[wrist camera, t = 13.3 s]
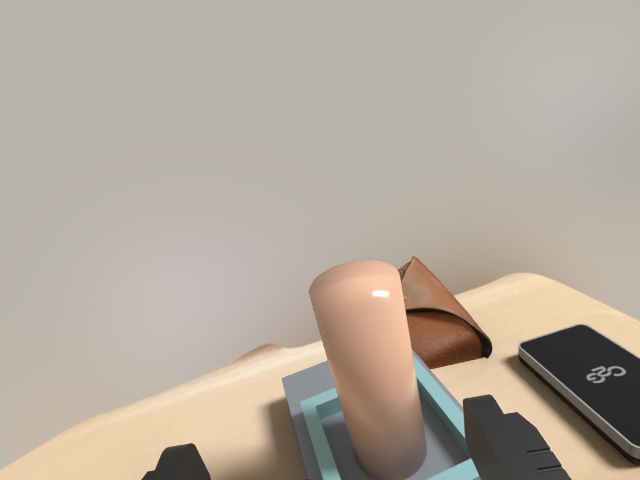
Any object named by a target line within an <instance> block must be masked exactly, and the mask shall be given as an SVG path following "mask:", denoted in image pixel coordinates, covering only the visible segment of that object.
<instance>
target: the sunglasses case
mask: <svg viewBox="0 0 640 480" xmlns="http://www.w3.org/2000/svg"><path fill="white" fill-rule="evenodd" d="M397 271H398V272H399V275H400V280H401V286H402V292H403V299H404V305H405V311H406V317H407V323H408V330H409V336H410V342H411V348H412V350H413V351H414V352H415V353H416V354H417V355H418V356H419V358H420V359H421V360H422V361H423V362H424V363H425V364H426V366H427V367H428V368H429V369H434V368H439V367H444V366H448V365H453V364H457V363H461V362H466V361H470V360H475V359H479V358H482V357H486V358H489V356H490V355H491V353H492V343H491V341H490V339H489V338H488V336H487V335H486V334H485V333H484V332H483V331H482V330H481V328H480V327H479V326H478V325H477V323H476V322H475V321H474V320H473V318H472V317H471V316H470V315H469V313H468V312H467V311H466V310H465V309H464V308H463V306H462V305H461V304H460V303H459V302H458V301H457V300H456V298H455V297H454V296H453V295H452V294H451V293H450V292H449V291H448V290H447V288H446V287H445V286H444V285H443V284H442V283H441V282H440V281H439V280H438V278H437V277H436V276H435V275H434V274H433V273H432V272H431V271H430V270H429V269H428V268H427V267H425V265H423V264H422V263H421V262H420V260H419V259H418V258H416V257H414V256H413V257H412V260H411V261H410V262H409V263H407V264H406V265H404V266H403V267H402V268H400V269H399V270H397Z"/></svg>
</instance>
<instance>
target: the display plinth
mask: <svg viewBox="0 0 640 480" xmlns="http://www.w3.org/2000/svg"><path fill="white" fill-rule="evenodd" d="M412 355H413V361H414V367H415V373H416V379H417V386H418V392H419V398H420V404H421V411H422V417H423V423H424V429H425V436H426V442H427V454H426V458H425V461H424V463H423V465H422V466H421V468H420V469H419V470H418V471H417V472H416V473H415V474H414V475H412V476H411V477H409V478H407V479H405V480H481V479H480V477H479V474H478V472H477V470H476V468H475V465H474V463H473V461H472V458H471V456H470V453H469V450H468V447H467V443H466V439H465V431H464V413H463V407H462V406H461V405H460V404H459V402H458V401H457V400H456V399H455V398H454V397H453V395H452V394H451V393H450V392H449V391H448V390H447V389H446V387H445V386H444V385H443V384H442V383H441V382H440V381H439V379H438V378H437V377H436V376H435V375H434V374H433V373H432V371H431V370H430V369H429V368H428V367H427V366H426V364H425V363H424V362H423V361H422V360H421V359H420V358H419V356H418V355H417V354H416V353H415V352H414V351H413V350H412ZM282 382H283V386H284V390H285V394H286V398H287V401H288V405H289V409H290V413H291V417H292V421H293V425H294V429H295V433H296V437H297V441H298V445H299V449H300V452H301V456H302V460H303V464H304V468H305V472H306V476H307V480H377V479H375V478H373V477H371V476H369V475H368V474H366V473H365V472H364V471H363V470H362V469H361V468H360V466H359V465H358V463H357V461H356V459H355V456H354V452H353V449H352V445H351V442H350V438H349V434H348V431H347V427H346V424H345V420H344V417H343V413H342V409H341V406H340V402H339V399H338V395H337V392H336V388H335V384H334V381H333V377H332V374H331V370H330V367H329V363H328V361H326V362H323V363H320V364H318V365H315V366H313V367H310V368H307V369H305V370H302V371H299V372H297V373H294V374H292V375H289V376H286V377H284V378H282Z"/></svg>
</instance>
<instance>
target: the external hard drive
mask: <svg viewBox="0 0 640 480" xmlns="http://www.w3.org/2000/svg"><path fill="white" fill-rule="evenodd" d="M518 347H519V359H520V361H521V362H522V363H523V364H524V365H525V366H527V367H528V368H529V369H530V370H531V371H532V372H533V373H534V374H535V375H536V376H537V377H539V378H540V379H541V380H542V381H543V382H544V383H545V384H546V385H547V386H548V387H549V388H551V389H552V390H553V391H554V392H555V393H556V394H557V395H558V396H559V397H560V398H561V399H563V400H564V401H565V402H566V403H567V404H568V405H569V406H570V407H571V408H572V409H573V410H575V411H576V412H577V413H578V414H579V415H580V416H581V417H582V418H583V419H584V420H585V421H587V422H588V423H589V424H590V425H591V426H592V427H593V428H594V429H595V430H596V431H597V432H599V433H600V434H601V435H602V436H603V437H604V438H605V439H606V440H607V441H608V442H609V443H610V444H612V445H613V446H614V447H615V448H616V449H617V450H618V451H619V452H620V453H621V454H622V455H624V456H625V457H626V458H627V459H628V460H629V461H631V462H633V463H635V464H640V357H638V356H637V355H635V354H634V353H632V352H630V351H629V350H627V349H626V348H624V347H622V346H621V345H619V344H618V343H616V342H614V341H613V340H611V339H610V338H608V337H606V336H605V335H603V334H601V333H600V332H598V331H597V330H595V329H593V328H592V327H590V326H588V325H586V324H576V325H573V326H570V327H567V328H563V329H560V330H557V331H554V332H551V333H548V334H544V335H541V336H538V337H535V338H532V339H529V340H526V341H522V342H520V343H519V344H518Z"/></svg>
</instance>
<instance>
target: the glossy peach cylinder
mask: <svg viewBox="0 0 640 480" xmlns="http://www.w3.org/2000/svg"><path fill="white" fill-rule="evenodd" d="M309 295H310V298H311V302H312V306H313V309H314V313H315V316H316V320H317V324H318V327H319V330H320V334H321V338H322V342H323V345H324V349H325V352H326V356H327V359H328V363H329V367H330V370H331V374H332V377H333V381H334V384H335V388H336V392H337V395H338V399H339V402H340V406H341V409H342V413H343V417H344V420H345V424H346V427H347V431H348V434H349V438H350V442H351V445H352V449H353V452H354V456H355V459H356V461H357V463H358V465H359V466H360V468H361V469H362V470H363V471H364V472H365V473H366V474H368V475H369V476H371V477H373V478H375V479H377V480H405V479H407V478H409V477H411V476H412V475H414V474H415V473H416V472H417V471H418V470H419V469H420V468H421V466H422V465H423V463H424V461H425V458H426V454H427V442H426V436H425V429H424V423H423V417H422V411H421V404H420V398H419V392H418V386H417V379H416V373H415V367H414V361H413V355H412V348H411V342H410V336H409V330H408V323H407V317H406V311H405V305H404V299H403V292H402V286H401V280H400V275H399V272H398V271H397V269H396V268H394V267H393V266H392V265H390V264H387V263H384V262H380V261H373V260H361V261H353V262H348V263H344V264H341V265H338V266H335V267H333V268H330V269H328V270H327V271H325V272H323V273H322V274H320V275H319V276H318V277H317V278H316V279H315V280H314V281H313V282H312V284H311V286H310V289H309Z"/></svg>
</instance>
